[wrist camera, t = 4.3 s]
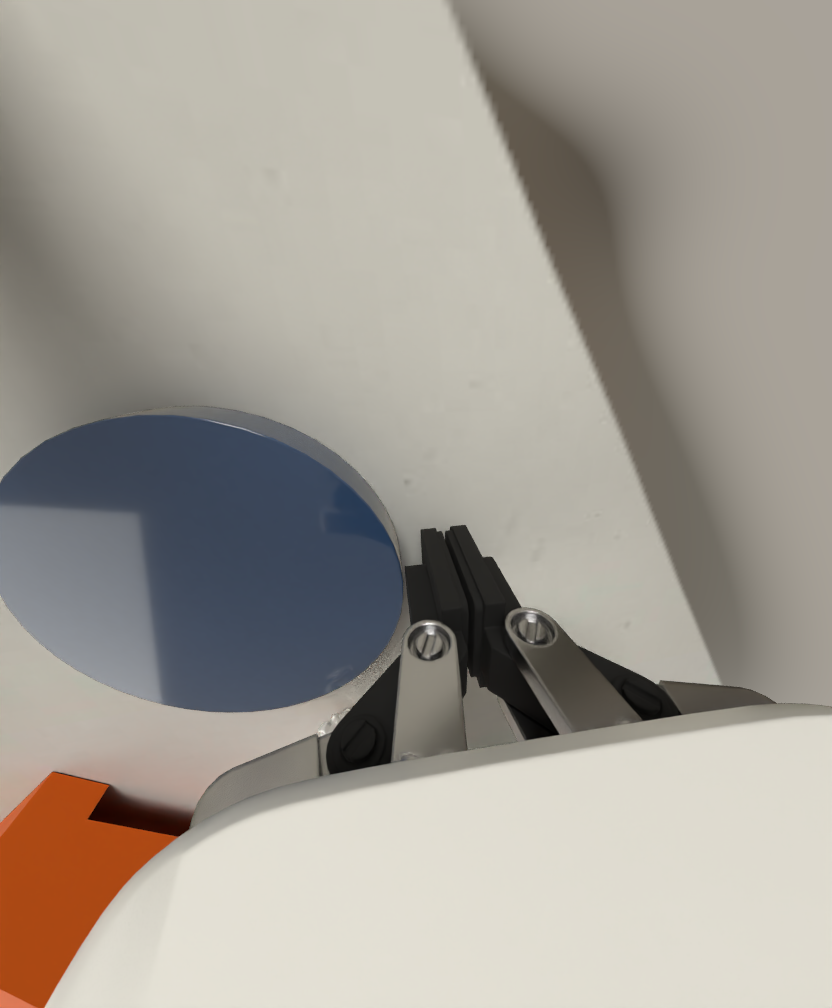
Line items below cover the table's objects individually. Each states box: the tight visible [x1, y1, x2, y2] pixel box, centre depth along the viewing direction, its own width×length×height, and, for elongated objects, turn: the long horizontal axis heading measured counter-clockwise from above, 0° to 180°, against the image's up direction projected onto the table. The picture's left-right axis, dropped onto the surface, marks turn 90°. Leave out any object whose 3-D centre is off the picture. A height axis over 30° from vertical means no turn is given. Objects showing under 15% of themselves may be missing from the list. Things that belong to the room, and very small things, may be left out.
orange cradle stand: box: [0, 772, 178, 1008], centre depth 16 cm, size 18×13×8 cm
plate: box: [0, 406, 403, 713], centre depth 10 cm, size 12×12×2 cm
